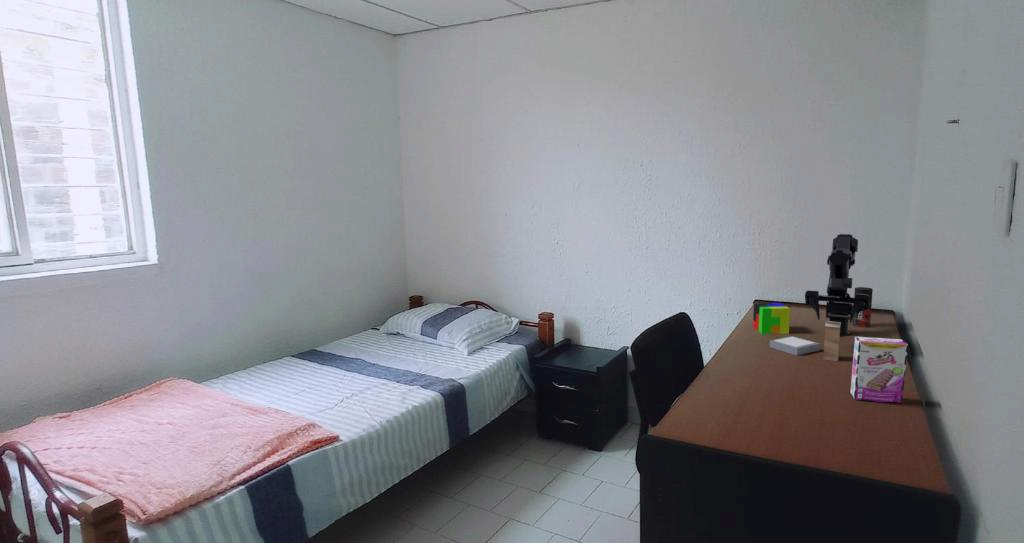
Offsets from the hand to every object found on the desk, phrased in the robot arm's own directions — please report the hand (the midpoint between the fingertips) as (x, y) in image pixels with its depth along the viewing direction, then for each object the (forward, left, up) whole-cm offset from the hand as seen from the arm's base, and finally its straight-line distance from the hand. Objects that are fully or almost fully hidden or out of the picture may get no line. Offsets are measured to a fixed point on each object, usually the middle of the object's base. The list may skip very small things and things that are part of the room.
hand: (834, 320), depth 183 cm
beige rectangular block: (+4, +3, -12) cm, 13 cm away
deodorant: (-43, -18, -12) cm, 48 cm away
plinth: (+5, -10, -12) cm, 16 cm away
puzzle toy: (-8, -31, -12) cm, 34 cm away
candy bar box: (+25, +31, -12) cm, 42 cm away
